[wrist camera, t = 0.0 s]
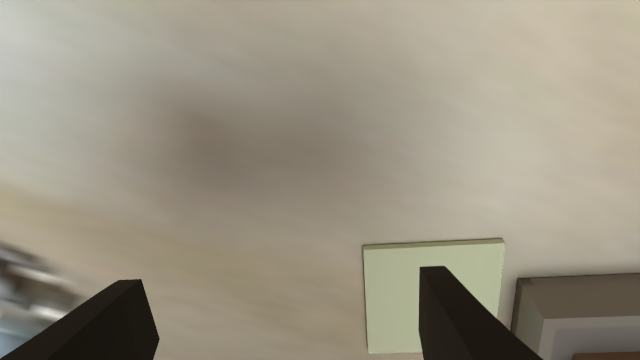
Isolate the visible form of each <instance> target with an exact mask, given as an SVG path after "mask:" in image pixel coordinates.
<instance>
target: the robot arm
mask: <svg viewBox="0 0 640 360" xmlns="http://www.w3.org/2000/svg"><path fill="white" fill-rule="evenodd" d="M418 331H419V336H420V341H421V347H422V352H423V357H424V360H543V359H542V358H541V357H540V356H538V355H537V354H536V353H535V352H534V351H532V350H531V349H530V348H529V347H528V346H527V345H526V344H524V343H523V342H522V341H521V340H520V339H519V338H517V337H516V336H515V335H514V334H513V333H512V332H511V331H510V330H508V329H507V328H506V327H505V326H504V325H503V324H502V323H501V322H500V321H499V320H498V319H497V318H496V317H495V316H494V315H493V314H491V313H490V312H489V311H488V310H487V309H486V308H485V307H484V306H483V305H482V304H481V303H480V302H479V301H478V300H477V299H476V298H475V297H474V296H473V295H472V294H471V293H470V292H469V291H468V290H467V288H466V287H465V286H464V285H463V284H462V283H461V282H460V281H459V280H458V279H457V278H456V277H455V276H454V275H453V274H452V273H451V271H450V270H449V269H448V268H446V267H445V266H424V267H420V272H419V327H418ZM159 340H160V339H159V336H158V332H157V329H156V326H155V323H154V319H153V316H152V313H151V310H150V306H149V303H148V300H147V297H146V293H145V290H144V287H143V283H142V280H141V279H135V280H118V281H117V282H115V283H113V284H112V285H110V286H108V287H107V288H105V289H104V290H102V291H101V292H99V293H98V294H96V295H95V296H93V297H92V298H90V299H89V300H87V301H86V302H84V303H83V304H81V305H80V306H78V307H77V308H76V309H74V310H73V311H71V312H70V313H68V314H67V315H65V316H64V317H63V318H61V319H60V320H58V321H57V322H55V323H54V324H52V325H51V326H49V327H48V328H47V329H45V330H44V331H42V332H41V333H39V334H38V335H36V336H35V337H33V338H32V339H30V340H29V341H27V342H25V343H24V344H22V345H21V346H19V347H18V348H16V349H15V350H13V351H12V352H10V353H8V354H7V355H5V356H4V357H2V358H1V359H0V360H153V358H154V355H155V352H156V349H157V346H158V343H159Z"/></svg>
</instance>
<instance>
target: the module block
mask: <svg viewBox="0 0 640 360" xmlns="http://www.w3.org/2000/svg"><path fill="white" fill-rule="evenodd" d="M572 360H640V351H638V352H606V353H574V354H573V357H572Z"/></svg>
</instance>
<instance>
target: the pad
mask: <svg viewBox="0 0 640 360" xmlns="http://www.w3.org/2000/svg"><path fill="white" fill-rule="evenodd" d="M504 252H505V242H504V240H503V239H488V240H468V241H447V242H427V243H407V244H387V245H367V246H363V258H364V279H365V300H366V322H367V343H368V354H380V353H411V352H422V347H421V341H420V336H419V331H418V327H419V272H420V267H424V266H445V267H446V268H448V269H449V270H450V271H451V273H452V274H453V275H454V276H455V277H456V278H457V279H458V280H459V281H460V282H461V283H462V284H463V285H464V286H465V287H466V288H467V290H468V291H469V292H470V293H471V294H472V295H473V296H474V297H475V298H476V299H477V300H478V301H479V302H480V303H481V304H482V305H483V306H484V307H485V308H486V309H487V310H488V311H489V312H490V313H491V314H493V315H494V316H495V317H496V318H497V314H498V305H499V296H500V287H501V278H502V270H503V261H504Z"/></svg>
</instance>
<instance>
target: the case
mask: <svg viewBox="0 0 640 360" xmlns="http://www.w3.org/2000/svg"><path fill="white" fill-rule="evenodd" d="M511 332H512V333H513V334H514V335H515V336H516V337H517V338H519V339H520V340H521V341H522V342H523V343H524V344H526V345H527V346H528V347H529V348H530V349H531V350H532V351H534V352H535V353H536V354H537V355H538V356H540V357H541V358H542V359H543V360H572V357H573V354H574V353H606V352H638V351H640V273H639V274H616V275H592V276H569V277H546V278H523V279H517V287H516V294H515V302H514V309H513V317H512V325H511Z"/></svg>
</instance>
